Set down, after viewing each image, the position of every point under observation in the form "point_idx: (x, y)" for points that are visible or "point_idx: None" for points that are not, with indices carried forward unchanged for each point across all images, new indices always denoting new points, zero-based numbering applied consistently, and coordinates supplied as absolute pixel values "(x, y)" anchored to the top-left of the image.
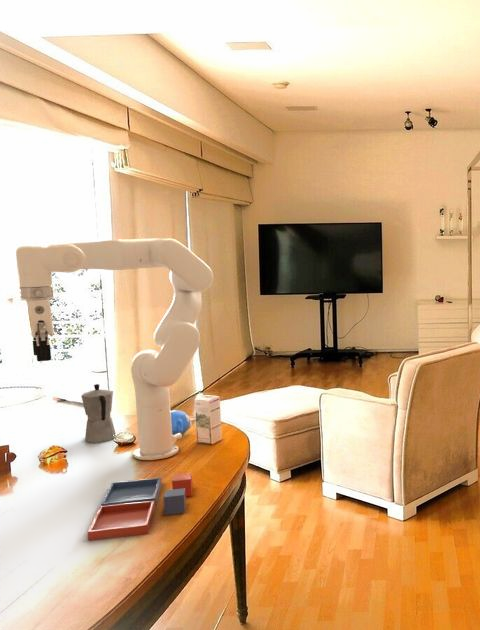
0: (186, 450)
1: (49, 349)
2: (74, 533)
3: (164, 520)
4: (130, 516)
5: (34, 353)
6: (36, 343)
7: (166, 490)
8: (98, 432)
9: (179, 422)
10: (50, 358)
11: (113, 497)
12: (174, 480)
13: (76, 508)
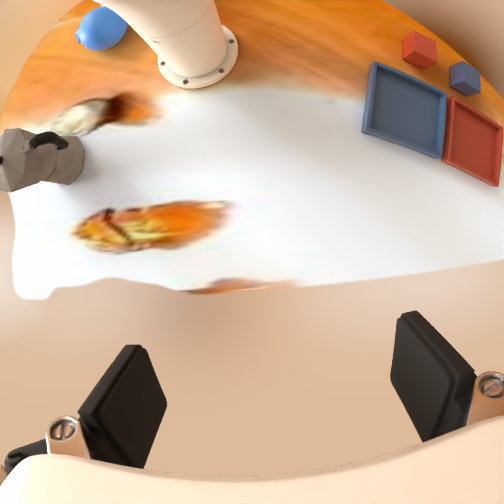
0: None
1: (450, 353)
2: (473, 197)
3: (477, 102)
4: (465, 131)
5: (164, 411)
6: (138, 449)
7: (464, 80)
8: (71, 159)
9: None
10: (418, 316)
11: (402, 136)
12: (435, 58)
13: (410, 188)
